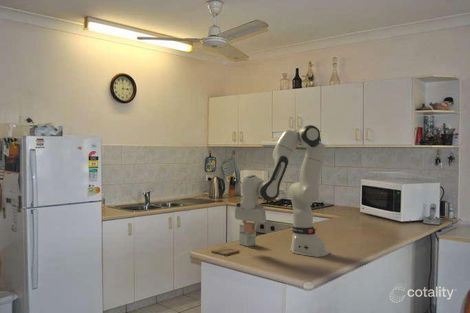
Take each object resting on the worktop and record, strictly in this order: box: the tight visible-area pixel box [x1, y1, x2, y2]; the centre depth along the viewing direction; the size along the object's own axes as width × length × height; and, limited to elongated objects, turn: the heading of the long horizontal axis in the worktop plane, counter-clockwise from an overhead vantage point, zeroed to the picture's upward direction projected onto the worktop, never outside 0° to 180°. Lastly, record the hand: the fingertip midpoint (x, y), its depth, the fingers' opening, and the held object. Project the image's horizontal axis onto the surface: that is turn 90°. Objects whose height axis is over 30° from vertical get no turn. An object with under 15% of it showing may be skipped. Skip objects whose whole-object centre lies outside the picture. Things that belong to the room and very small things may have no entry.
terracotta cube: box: [244, 221, 258, 233], centre depth 230 cm, size 5×5×5 cm
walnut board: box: [211, 246, 240, 257], centre depth 229 cm, size 11×11×1 cm
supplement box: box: [238, 222, 257, 247], centre depth 248 cm, size 7×7×13 cm
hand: (250, 228), depth 230 cm, fingers closed on terracotta cube, 5 cm apart
